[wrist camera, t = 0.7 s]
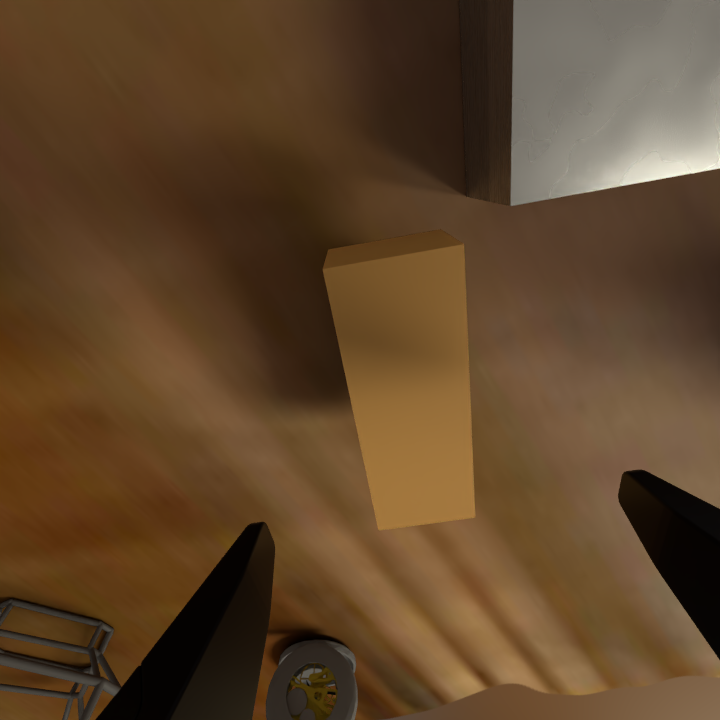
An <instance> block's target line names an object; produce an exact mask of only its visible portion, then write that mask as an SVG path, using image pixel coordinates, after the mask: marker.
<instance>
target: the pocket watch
mask: <svg viewBox="0 0 720 720" xmlns="http://www.w3.org/2000/svg"><path fill="white" fill-rule="evenodd" d="M355 668H356V662H355V656H354V654H353V653H352V652H351V651H350V650H349V649H348V648H347V647H346V646H344V645H342V644H339V643H337V642H333V641H329V640H317V639H316V640H307V641H302V642H299V643H296V644H293V645H291V646H290V647H288V648H287V649H285V651H284V652H283V653H282V655H281V656H280V659H279V665H278V668H277V670H276V671H275V673H274V675H273V678H272V680H271V682H270V685H269V689H268V694H267V699H266V718H267V720H354V719H355V714H356V710H357V700H358V699H357V685H356V680H355V676H354V672H355ZM333 685H336V689H337V690H334V689H331V688H330V686H333ZM293 686H295V687H296V689H293V690H291V689H292V687H293ZM325 687H329V688H330V689H326V688H325ZM290 690H291V691H290ZM289 691H290V692H289ZM288 692H289V693H288ZM327 694H332V696H333V695H336V698H333V699H332V702H333V703H334V706H333V705H329V704H327V703H328V702H327V701H326V700H325V699H324V698H325V696H326V697H327V699H328V700H329V702H330V701H331V699H329V697H328V696H327ZM331 698H332V697H331ZM324 700H325V701H324ZM323 701H324V702H323ZM325 706H326V707H325ZM327 707H330V708H332V709H333V710H332V711H331V710H330V709H328V708H327ZM322 711H323V712H322ZM326 712H327V713H328V714H327V713H326Z"/></svg>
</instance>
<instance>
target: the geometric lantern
mask: <svg viewBox="0 0 720 720" xmlns="http://www.w3.org/2000/svg"><path fill="white" fill-rule="evenodd" d="M6 606H7V607H6ZM13 606H17V607H21V608H25V609H29V610H33V611H37V612H41V613H45V614H49V615H53V616H57V617H61V618H65V619H69V620H73V621H77V622H81V623H85V624H89V625H93V626H97V629H96V631H95V633H94V635H93V637H92V639H91V641H90V643H89V645H88V647H83V646H78V645H73V644H69V643H64V642H59V641H55V640H50V639H45V638H40V637H36V636H31V635H26V634H21V633H17V632H12V631H7V630H3V629H0V636H3V637H8V638H12V639H17V640H22V641H27V642H32V643H36V644H41V645H46V646H51V647H56V648H61V649H65V650H70V651H75V652H80V653H85V654H89V656H90V661H91V667H88V668H84V669H81V668H77V667H72V666H68V665H63V664H58V663H54V662H49V661H45V660H40V659H36V658H31V657H26V656H22V655H17V654H13V653H8V652H5V651H3V650H1V649H0V665H4V666H8V667H12V668H17V669H21V670H25V671H29V672H34V673H38V674H42V675H47V676H51V677H55V678H60V679H64V680H68V681H73V682H75V684H74V686H73V687H72V689H71V691H70V693H68V692H60V691H52V690H45V689H37V688H30V687H22V686H15V685H7V684H0V690H3V691H10V692H18V693H26V694H34V695H42V696H50V697H58V698H65V699H68V702H67V705H66V709H65V712H64V716H63V719H62V720H67V719H68V716H69V712H70V709H71V705H72V702H73V698H78V713H79V720H89V719H90V717H91V715H92V712H93V710H94V708H95V706H96V703H97V701H98V699H99V697H100V694H101V692H102V690H104V691H106V692H107V693H109V694H111V695H113V696H115V695H116V694H117V693H118V691H119V690H120V689H121V688H122V687H121V686H120V684H119V682H118V680H117V679H116V677H115V675H114V673H113V672H112V670H111V668H110V666H109V665H108V663H107V661H106V659H105V658H104V656H103V653H104V651H105V649H106V647H107V645H108V642H109V640H110V638H111V636H112V634H113V631H114V629H113V628H112V627H110V626H109V625H107V624H105V623H104V622H102V621H98V620H94V619H90V618H86V617H82V616H78V615H74V614H70V613H66V612H62V611H59V610H55V609H51V608H47V607H43V606H39V605H35V604H31V603H27V602H23V601H19V600H15V599H9V600H7V601H5V602H3V603H0V625H1V624H2V622H3V621H4V619H5V618H6V616H7V615H8V613H9V612H10V610H11V609H12V607H13ZM4 607H6V608H5V610H4V611H3V613H2V609H3V608H4ZM1 613H2V614H1ZM102 629H103V630H105V631H106V632H107V634H106V636H105V638H104V640H103V642H102V644H101V646H100V648H99V650H97V649H95V648H94V647H93V646H94V644H95V642H96V640H97V638H98V636H99V634H100V632H101V630H102ZM99 662H100V664H101V666H102V668H103V670H104V671H105V673H106V675H107V677H108V678H109V680H110V681H109V680H107V679H105V678H104V677H100V672H99V668H98V663H99ZM87 673H88V674H87ZM80 683H81V684H83V685H82V688H81V690H80V692H77V693H75V691H76V689H77V687H78V686H79V684H80ZM89 685H90V686H94V687H95V688H94V690H93V692H92V695H91V697H90V699H89V701H88V703H87V706H86V708H85V710H84V703H83V695H84V694H85V692H86V690H87V688H88V686H89Z"/></svg>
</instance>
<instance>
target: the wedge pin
mask: <svg viewBox="0 0 720 720" xmlns="http://www.w3.org/2000/svg"><path fill="white" fill-rule="evenodd" d="M323 274H324V278H325V283H326V288H327V292H328V297H329V302H330V306H331V311H332V316H333V320H334V325H335V330H336V334H337V339H338V344H339V348H340V353H341V358H342V362H343V367H344V371H345V376H346V381H347V385H348V390H349V395H350V399H351V404H352V409H353V413H354V418H355V423H356V427H357V432H358V437H359V441H360V446H361V451H362V455H363V460H364V465H365V469H366V474H367V479H368V483H369V488H370V492H371V497H372V502H373V506H374V511H375V516H376V520H377V525H378V530H386V529H393V528H401V527H408V526H416V525H423V524H431V523H438V522H445V521H453V520H460V519H468V518H475V501H474V476H473V451H472V426H471V401H470V376H469V351H468V326H467V301H466V276H465V251H464V244H463V243H462V242H460V241H458V240H457V239H455V238H454V237H452V236H451V235H449V234H447V233H446V232H444V231H443V230H441V229H440V230H434V231H428V232H423V233H417V234H412V235H406V236H401V237H395V238H389V239H384V240H378V241H373V242H367V243H361V244H356V245H350V246H345V247H339V248H333V249H328V252H327V255H326V259H325V262H324V266H323Z"/></svg>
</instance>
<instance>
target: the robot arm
mask: <svg viewBox="0 0 720 720" xmlns="http://www.w3.org/2000/svg"><path fill="white" fill-rule="evenodd" d="M618 499H619V502H620V505H621V507H622V509H623V510H624V512H625V514H626V516H627V517H628V519H629V521H630V523H631V525H632V526H633V528H634V530H635V532H636V533H637V535H638V537H639V539H640V541H641V542H642V544H643V546H644V548H645V549H646V551H647V553H648V555H649V557H650V558H651V560H652V562H653V563H654V565H655V567H656V568H657V570H658V571H659V573H660V574H661V576H662V577H663V579H664V580H665V582H666V583H667V584H668V586H669V587H670V589H671V590H672V592H673V593H674V595H675V596H676V597H677V599H678V600H679V602H680V603H681V605H682V606H683V608H684V609H685V610H686V612H687V613H688V615H689V616H690V618H691V619H692V621H693V622H694V623H695V625H696V626H697V628H698V629H699V631H700V632H701V634H702V635H703V636H704V638H705V639H706V641H707V642H708V644H709V645H710V647H711V648H712V649H713V651H714V652H715V654H716V655H717V657H718V658H719V660H720V509H719V508H717V507H715V506H713V505H711V504H709V503H707V502H705V501H703V500H701V499H699V498H697V497H695V496H693V495H692V494H690V493H688V492H686V491H684V490H682V489H680V488H678V487H676V486H674V485H672V484H670V483H668V482H666V481H664V480H662V479H660V478H659V477H657V476H655V475H653V474H651V473H649V472H647V471H644V470H632V471H626V472H624V473H623V474H622V478H621V483H620V488H619V493H618ZM274 559H275V544H274V541H273V538H272V536H271V533H270V531H269V529H268V526H267V524H266V523H265V522H257V523H251V524H249V525H248V526H247V527H246V528H245V529H244V531H243V532H242V533H241V535H240V536H239V537H238V538H237V540H236V541H235V542H234V544H233V545H232V546H231V547H230V549H229V550H228V551H227V553H226V554H225V555H224V557H223V558H222V559H221V560H220V562H219V563H218V564H217V566H216V567H215V568H214V569H213V571H212V572H211V573H210V575H209V576H208V577H207V578H206V580H205V581H204V582H203V584H202V585H201V586H200V587H199V589H198V590H197V591H196V593H195V594H194V595H193V596H192V598H191V599H190V600H189V602H188V603H187V604H186V605H185V607H184V608H183V609H182V611H181V612H180V613H179V614H178V616H177V617H176V618H175V620H174V621H173V622H172V623H171V625H170V626H169V627H168V629H167V630H166V631H165V632H164V634H163V635H162V636H161V638H160V639H159V640H158V641H157V643H156V644H155V645H154V647H153V648H152V649H151V650H150V652H149V653H148V654H147V656H146V657H145V658H144V660H143V661H142V663H141V666H138V667H137V668H136V670H135V671H134V672H133V673H132V675H131V676H130V677H129V679H128V680H127V681H126V682H125V684H124V685H123V686H122V688H121V689H120V690H119V691H118V693H117V694H116V695H115V696H114V697H113V699H112V700H111V701H110V702H109V704H108V705H107V706H106V707H105V709H104V710H103V711H102V712H101V714H100V715H99V716H98V717H97V718H96V720H252V715H253V710H254V704H255V698H256V693H257V687H258V681H259V676H260V670H261V665H262V659H263V653H264V648H265V642H266V636H267V631H268V625H269V618H270V610H271V598H272V585H273V572H274Z"/></svg>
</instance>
